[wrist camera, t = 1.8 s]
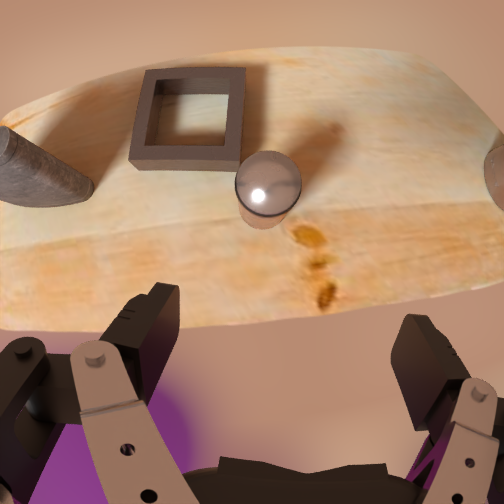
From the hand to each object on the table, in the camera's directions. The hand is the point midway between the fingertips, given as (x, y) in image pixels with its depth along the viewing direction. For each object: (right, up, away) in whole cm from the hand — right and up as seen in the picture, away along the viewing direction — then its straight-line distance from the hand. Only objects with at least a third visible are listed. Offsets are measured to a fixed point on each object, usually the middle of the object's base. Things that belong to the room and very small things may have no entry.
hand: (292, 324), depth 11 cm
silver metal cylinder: (0, +7, +22) cm, 23 cm away
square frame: (-8, +17, +23) cm, 29 cm away
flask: (-26, +9, +22) cm, 36 cm away
